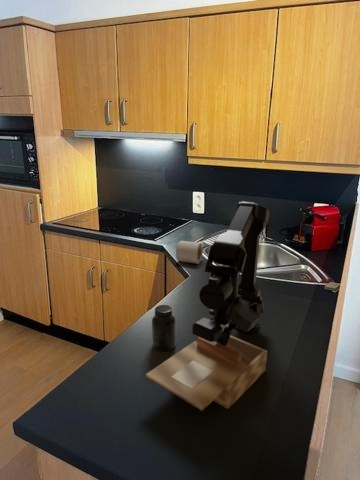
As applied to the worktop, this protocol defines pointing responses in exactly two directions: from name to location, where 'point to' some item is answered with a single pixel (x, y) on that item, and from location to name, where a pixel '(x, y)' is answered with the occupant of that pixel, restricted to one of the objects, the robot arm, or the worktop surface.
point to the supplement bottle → (163, 328)
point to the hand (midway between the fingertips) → (222, 347)
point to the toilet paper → (189, 252)
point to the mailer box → (256, 368)
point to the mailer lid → (199, 372)
